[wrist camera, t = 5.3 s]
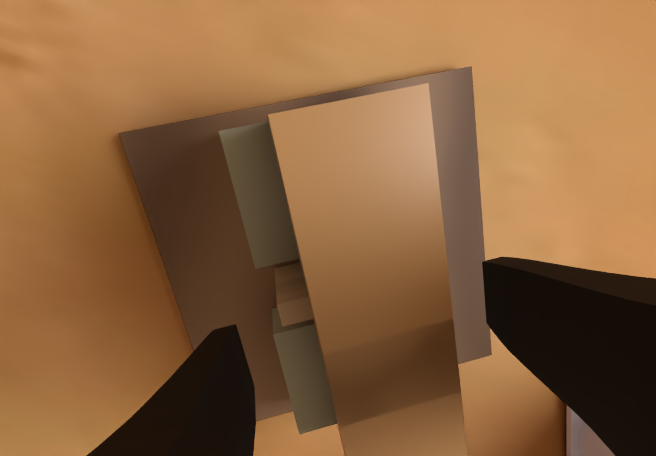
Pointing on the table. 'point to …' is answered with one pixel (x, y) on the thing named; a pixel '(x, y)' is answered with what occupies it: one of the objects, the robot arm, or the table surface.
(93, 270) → the table surface
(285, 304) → the display stand
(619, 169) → the table surface
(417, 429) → the grey tan long block
